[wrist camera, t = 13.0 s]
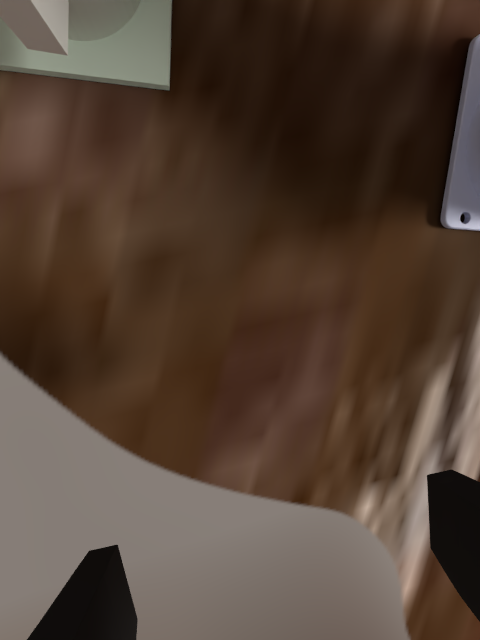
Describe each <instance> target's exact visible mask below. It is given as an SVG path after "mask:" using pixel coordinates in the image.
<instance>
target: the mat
mask: <svg viewBox="0 0 480 640" xmlns="http://www.w3.org/2000/svg"><path fill="white" fill-rule="evenodd" d="M171 22H172V0H141V1H140V4H139V6H138V8H137V10H136V12H135V14H134V15H133V16H132V18H131V19H130V20H129V21H128V22H127V24H126V25H125V26H124V27H122V28H121V29H120V30H118V31H117V32H116V33H114V34H112V35H110V36H108V37H105V38H102V39H99V40H93V41H75V40H70V39H68V56H67V55H61V54H55V53H49V52H43V51H37V50H31V49H27V48H26V46H25V45H24V44H23V43H22V42H21V41H20V39H19V38H18V37H17V36H16V35H15V34H14V32H13V31H12V30H11V29H10V28H9V27H8V25H7V24H6V23H5V22H4V21H3V20H2V18H1V17H0V70H4V71H13V72H21V73H29V74H37V75H45V76H54V77H62V78H70V79H78V80H87V81H95V82H103V83H111V84H119V85H128V86H136V87H144V88H152V89H160V90H169V91H170V57H171Z"/></svg>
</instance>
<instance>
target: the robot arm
mask: <svg viewBox="0 0 480 640" xmlns="http://www.w3.org/2000/svg"><path fill="white" fill-rule="evenodd" d="M462 213H463V214H464V216H465V219H464V222H463V223H462V222H461V221H460V217H461V214H462ZM441 223H442V225H443V226H444V227H445V228H448V229H460V230H472V231H480V34H479V35H478V36H476V37H475V38H474V39H473V40H472V41H471V42H470V45H469V49H468V55H467V61H466V67H465V73H464V79H463V85H462V91H461V97H460V103H459V109H458V115H457V121H456V127H455V133H454V139H453V145H452V151H451V157H450V163H449V169H448V175H447V181H446V187H445V193H444V199H443V205H442V211H441ZM427 482H428V503H429V524H430V545H431V549H432V551H433V553H434V554H435V556H436V558H437V559H438V561H439V563H440V564H441V566H442V568H443V569H444V571H445V573H446V574H447V576H448V577H449V579H450V581H451V582H452V584H453V585H454V587H455V588H456V590H457V592H458V593H459V595H460V596H461V597H462V599H463V600H464V601H465V603H466V604H467V606H468V607H469V608H470V609H471V611H472V612H473V613H474V615H475V616H476V617H477V619H478V620H479V621H480V482H478V481H476V480H474V479H471V478H469V477H467V476H465V475H463V474H460V473H458V472H456V471H453V470H448V471H443V472H439V473H434V474H430V475H427ZM136 633H137V616H136V612H135V608H134V604H133V601H132V597H131V594H130V589H129V586H128V582H127V578H126V575H125V571H124V567H123V563H122V560H121V556H120V552H119V548H118V545H114V546H109V547H105V548H101V549H96V550H91V551H89V552H88V553H87V555H86V556H85V557H84V559H83V560H82V562H81V563H80V565H79V566H78V568H77V569H76V570H75V572H74V573H73V575H72V576H71V577H70V579H69V580H68V582H67V583H66V585H65V586H64V588H63V589H62V591H61V592H60V594H59V595H58V596H57V598H56V599H55V601H54V602H53V604H52V605H51V606H50V608H49V609H48V611H47V612H46V614H45V615H44V616H43V618H42V620H41V621H40V622H39V624H38V625H37V627H36V628H35V629H34V631H33V632H32V633H31V635H30V636H29V638H28V639H27V640H136Z"/></svg>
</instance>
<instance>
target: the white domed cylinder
mask: <svg viewBox="0 0 480 640" xmlns="http://www.w3.org/2000/svg"><path fill="white" fill-rule="evenodd" d="M140 1H141V0H0V17H1V18H2V20H3V21H4V22H5V23H6V24H7V25H8V27H9V28H10V29H11V30H12V31H13V32H14V34H15V35H16V36H17V37H18V38H19V39H20V41H21V42H22V43H23V44H24V45H25V46H26V48H27V49H31V50H37V51H43V52H49V53H55V54H61V55H67V56H68V39H70V40H75V41H93V40H99V39H102V38H105V37H108V36H110V35H112V34H114V33H116V32H117V31H118V30H120V29H121V28H122V27H124V26H125V25H126V24H127V22H128V21H129V20H130V19H131V18H132V16H133V15H134V14H135V12H136V10H137V8H138V6H139V4H140Z"/></svg>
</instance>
